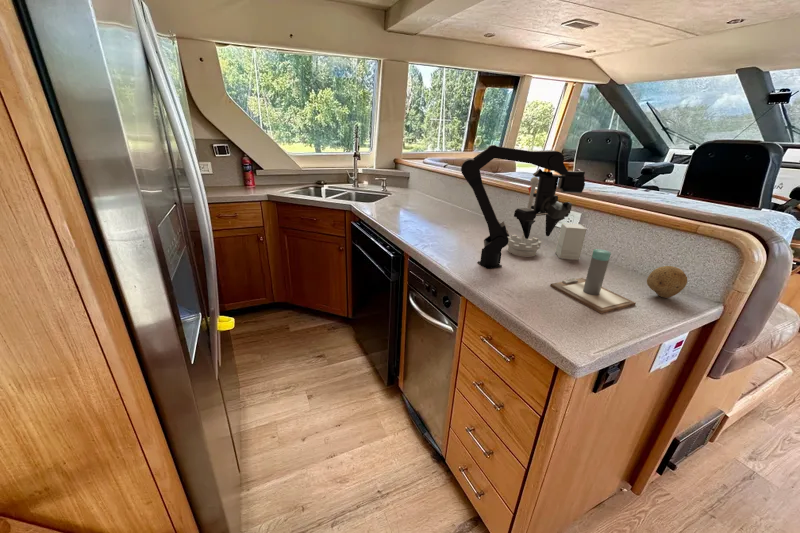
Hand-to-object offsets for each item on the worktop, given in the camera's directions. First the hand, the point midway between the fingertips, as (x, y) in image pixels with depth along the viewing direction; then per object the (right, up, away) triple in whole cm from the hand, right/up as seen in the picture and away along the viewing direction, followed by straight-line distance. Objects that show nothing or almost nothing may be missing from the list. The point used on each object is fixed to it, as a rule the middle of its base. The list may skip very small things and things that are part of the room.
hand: (537, 237), depth 112 cm
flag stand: (+3, -4, +22) cm, 22 cm away
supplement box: (+20, -6, +18) cm, 28 cm away
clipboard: (+11, -19, -13) cm, 25 cm away
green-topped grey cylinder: (+11, -18, -13) cm, 25 cm away
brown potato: (+32, -19, -13) cm, 40 cm away
